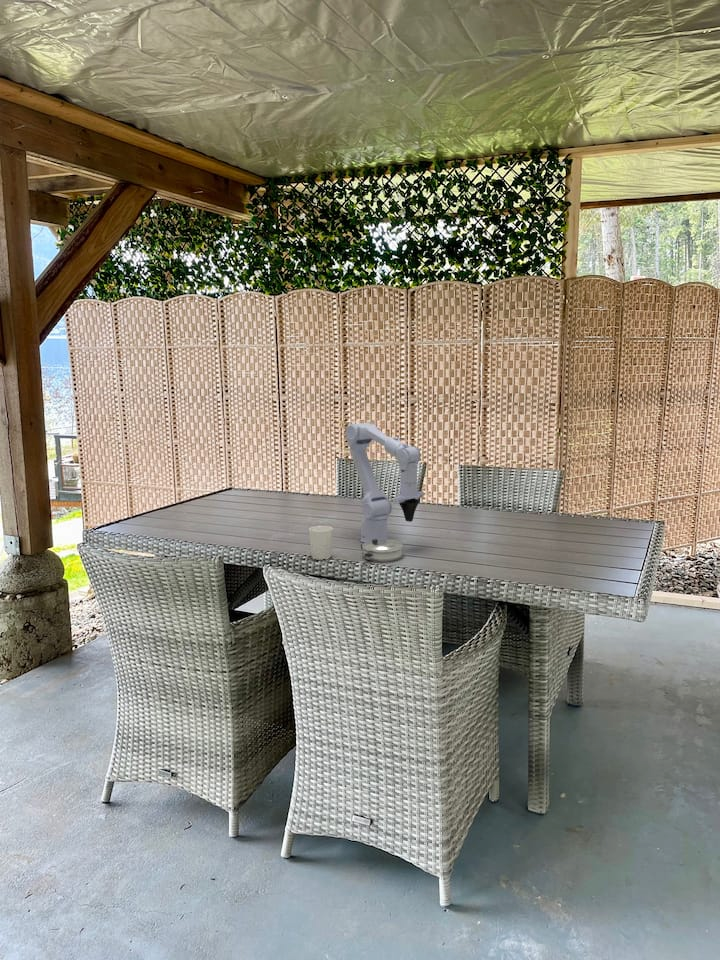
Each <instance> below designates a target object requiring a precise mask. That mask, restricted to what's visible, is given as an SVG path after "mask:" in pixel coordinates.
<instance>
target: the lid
mask: <svg viewBox="0 0 720 960" xmlns="http://www.w3.org/2000/svg"><path fill="white" fill-rule="evenodd" d="M362 544H363V545H362V549H361V550H365V551H368V552H374V553H388V552H395V551H398V550H401V549H402V550H403V548H404V544H403V542H401V541H399V540H396V539H395V540H393V539H391V540H377V539H373V540H372V541H369V542H366V543H365V542H363V543H362Z"/></svg>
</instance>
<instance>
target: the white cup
mask: <svg viewBox="0 0 720 960" xmlns="http://www.w3.org/2000/svg"><path fill="white" fill-rule="evenodd" d="M333 531H334V529H333V527H332V526H330V525H329V526H328V525H318V526H317V525H316V526H312V527H309V528H308V532H309V543H310V550H311V558H312V559H313V560H318V561H323V559H325V560H328V559H327V558H329V557H331V556H333V539H334V538H333V534H334V533H333ZM331 558H332V557H331ZM329 559H330V558H329Z"/></svg>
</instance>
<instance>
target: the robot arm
mask: <svg viewBox="0 0 720 960" xmlns="http://www.w3.org/2000/svg"><path fill="white" fill-rule="evenodd" d="M345 438H346V441H347V445H348V447H349V451H350V455H351V457H352V460H353V463H354V466H355V470H356V471H357V476H358V478H359V480H360V484H361V486H362V489H363V492H364V496H363V497H362V500H360V502H361V505H362V513H363V515H364V517H363V519H362V520H361V524H360V528H361V529H360V540H359V542H360V541H361V543H366V542H369V541H372V540H373V539H377V540H392V539H390V538H388V533H389V532H388V518H390V515H391V514H392V512H393V506H392V502H393V504H397V505H399V506H400V508H401V509H402V513H403V516H404V519H405V521H406V522H408V523H410V522H413V521H414V515H415V512H416V509H417V507H418V505H419V504H420V500H417V499H420V498H421V499H422V498H425V497H424V494H425V492H424V491H418V463H419V461H420V460H421V456H422V455H421V451H420V449H419V448H418V447H417V446H416V445H411V446H410V445H408V443H405V442H403V441H402V440H400V438H399V437H398V436H392V437H391V436H390V437H389V436H388V435H386V434H385V433H384V432H382V431H381V430H380V429H378V428H377V424H374V423H373V422H365V423H363V422H362V423H350V424H349V425H348V426H347V427H346V430H345ZM373 441H374V442H376V443H377V444H379V445H382V446H383V447H384V450H385V452H387V453H388V454H389V455H392V456H393V457H394V458H396V460H397V464H398V468H399V470H400V475H399V476H400V477H399V478H400V479H399V480H400V484H399V485H400V494H399V495H397V496H394V497H393V500H392V502H391V500H390V499H389V498H388V496H387V494H386V493H385V492H383V491H382V490H380V488H379V485H378V482H377V479H376V477H375V476H376V475H375V473H374V470H373V467H372V464H371V462H370V459H369V455H368V454H367V448H368V447H369V446H370V444H372V442H373Z"/></svg>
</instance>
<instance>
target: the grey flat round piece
mask: <svg viewBox="0 0 720 960" xmlns="http://www.w3.org/2000/svg"><path fill="white" fill-rule="evenodd" d="M363 544H364V543H361V544H360V550H363V549H362V545H363ZM362 553H363V559H364V558H365V559H367V560H366V561H368V560H370V561H369V562H372V561H376V562H375V563H388V562H387V561H392V562H396V561H395V560H397V561H400V560H401V559H402V558H403V548H402V549H401V550H398V551H395V552H388V553H374V552H368V551H365V550H363V552H362ZM365 559H364V560H365Z"/></svg>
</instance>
